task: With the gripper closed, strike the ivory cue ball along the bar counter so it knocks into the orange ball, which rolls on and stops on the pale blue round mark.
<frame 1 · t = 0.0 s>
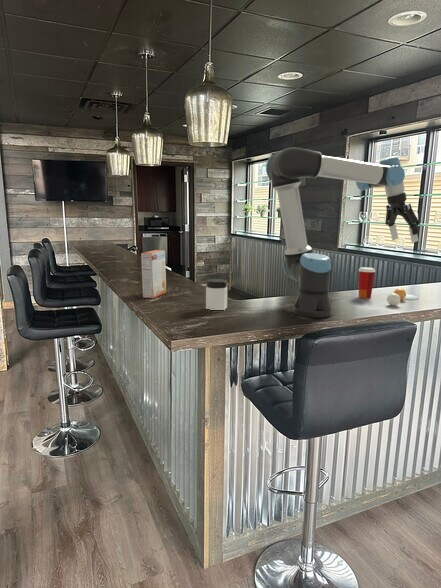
hand: (404, 240, 184), 28 cm above the counter, tool tilted 20°, fingers open, 13 cm apart
jar: (216, 309, 171), on the counter
object ball: (399, 294, 192), on the counter
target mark: (402, 296, 200), on the counter
paper cup: (364, 297, 198), on the counter
cracker box: (154, 295, 196), on the counter
cue ball: (393, 299, 180), on the counter
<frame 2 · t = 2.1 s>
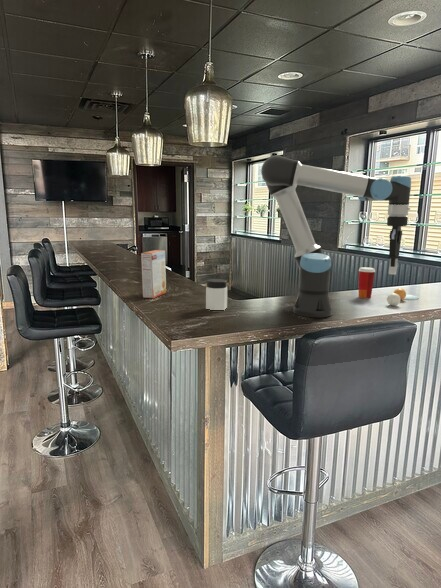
hand: (392, 274, 170), 15 cm above the counter, tool pointing down, fingers closed
nothing on the counter moved.
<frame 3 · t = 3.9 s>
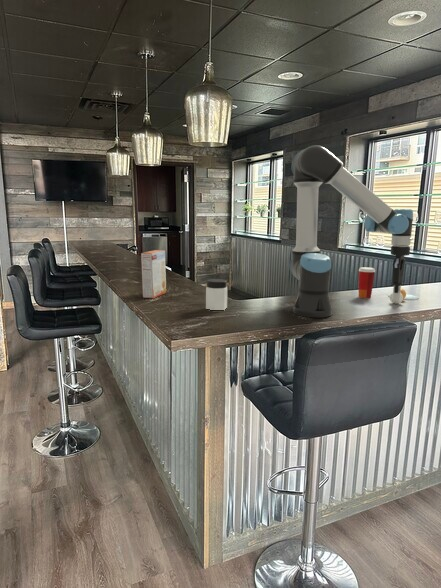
hand: (396, 299, 181), 3 cm above the counter, tool pointing down, fingers closed
cue ball: (396, 297, 184), on the counter
everything else where it was.
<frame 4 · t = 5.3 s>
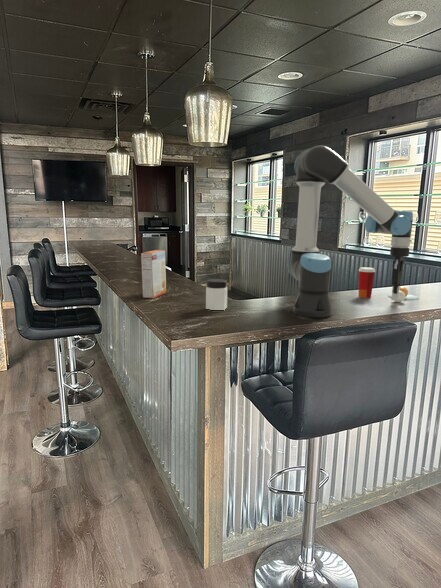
hand: (394, 300, 183), 2 cm above the counter, tool pointing down, fingers closed
object ball: (401, 292, 196), on the counter
cue ball: (398, 296, 187), on the counter
everything else where it was.
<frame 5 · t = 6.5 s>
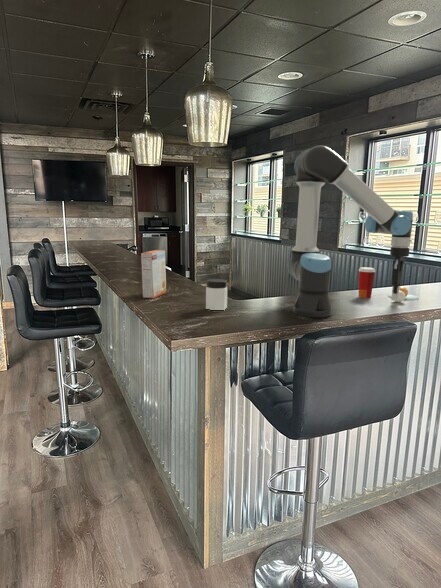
hand: (394, 300, 183), 2 cm above the counter, tool pointing down, fingers closed
nothing on the counter moved.
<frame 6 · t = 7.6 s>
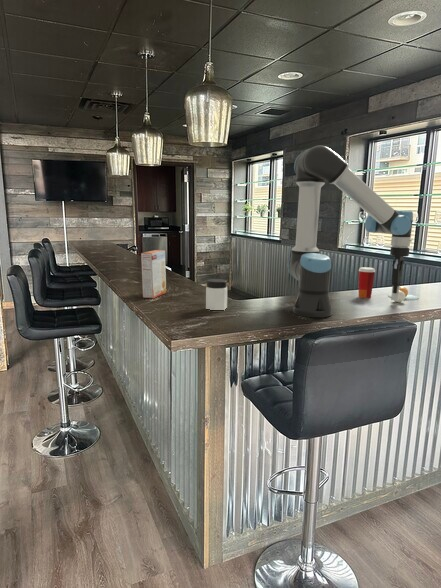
hand: (394, 300, 183), 2 cm above the counter, tool pointing down, fingers closed
nothing on the counter moved.
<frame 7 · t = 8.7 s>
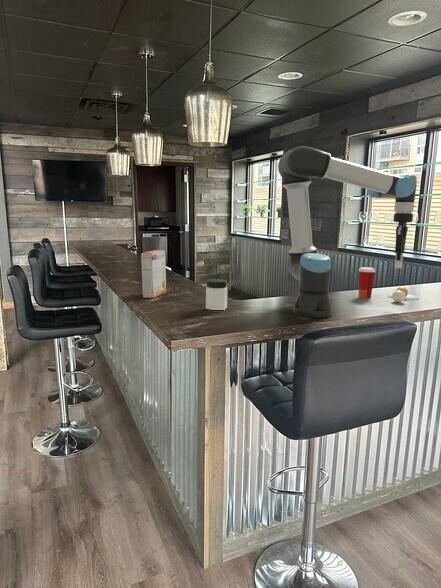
hand: (398, 267, 180), 16 cm above the counter, tool pointing down, fingers closed
nothing on the counter moved.
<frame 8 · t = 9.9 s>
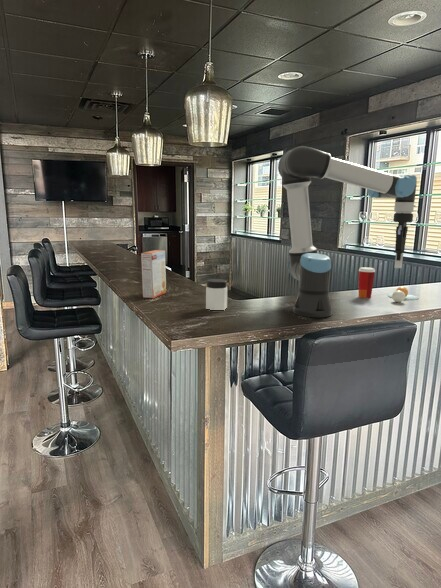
hand: (398, 267, 180), 16 cm above the counter, tool pointing down, fingers closed
nothing on the counter moved.
at the end: object ball 3.6 cm from the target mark (horizontally); object ball never touched the robot; cue ball first touched object ball at 4.1 s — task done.
